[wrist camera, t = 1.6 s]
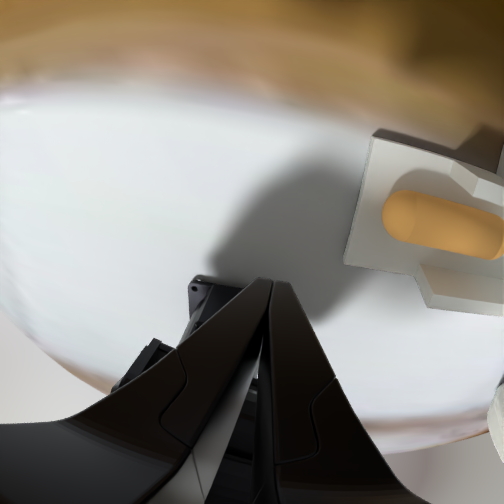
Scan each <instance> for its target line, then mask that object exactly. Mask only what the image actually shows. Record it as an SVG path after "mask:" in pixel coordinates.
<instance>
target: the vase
mask: <svg viewBox="0 0 504 504" xmlns="http://www.w3.org/2000/svg"><path fill="white" fill-rule="evenodd" d="M487 422H488V427H489V431H490V435H491V437H492V440H493V443H494V445H495V447H496V450H497V451H498V454H499V456H500V458H501V460H502V462H503V463H504V383H503V384H501V385H500V386H499V387H498V389H497V391H496V393H495V395H494V398H493V400H492V403H491V405H490V408H489V410H488V413H487Z"/></svg>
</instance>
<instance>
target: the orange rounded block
mask: <svg viewBox="0 0 504 504" xmlns="http://www.w3.org/2000/svg"><path fill="white" fill-rule="evenodd" d="M382 222H383V225H384V227H385V229H386V231H387V232H388V233H389V234H390V235H391V236H392V237H393V238H395V239H396V240H399V241H402V242H407V243H412V244H417V245H422V246H427V247H431V248H436V249H441V250H446V251H450V252H455V253H459V254H464V255H468V256H473V257H477V258H482V259H486V260H494V259H497V258H499V257H501V256H502V255H503V254H504V220H503V219H502V218H501V217H499V216H497V215H495V214H492V213H489V212H486V211H483V210H480V209H476V208H473V207H470V206H466V205H463V204H460V203H456V202H453V201H449V200H445V199H442V198H438V197H434V196H431V195H427V194H423V193H419V192H415V191H411V190H400V191H397V192H395V193H393V194H392V195H391V196H390V197H388V198H387V200H386V201H385V203H384V205H383V209H382Z"/></svg>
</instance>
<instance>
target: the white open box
mask: <svg viewBox="0 0 504 504" xmlns="http://www.w3.org/2000/svg"><path fill="white" fill-rule="evenodd" d="M400 190H411V191H415V192H419V193H423V194H427V195H431V196H434V197H438V198H442V199H445V200H449V201H453V202H456V203H460V204H463V205H466V206H470V207H473V208H476V209H480V210H483V211H486V212H489V213H492V214H495V215H497V216H499V217H501V218H502V219H503V220H504V144H503V148H502V153H501V157H500V161H499V164H498V168H497V172H496V174H494V173H492V172H489V171H487V170H484V169H482V168H479V167H476V166H473V165H471V164H468V163H465V162H462V161H459V160H456V159H453V158H450V157H447V156H444V155H441V154H438V153H434V152H431V151H428V150H424V149H421V148H418V147H414V146H410V145H407V144H403V143H399V142H395V141H391V140H387V139H383V138H379V137H375V136H371V141H370V146H369V151H368V156H367V161H366V166H365V171H364V176H363V180H362V185H361V189H360V193H359V198H358V202H357V206H356V210H355V214H354V218H353V222H352V226H351V230H350V234H349V238H348V242H347V245H346V249H345V253H344V256H343V260H344V264H345V265H351V266H357V267H363V268H369V269H375V270H381V271H386V272H392V273H398V274H404V275H410V276H414V277H415V279H416V282H417V284H418V286H419V289H420V291H421V294H422V296H423V299H424V302H425V304H426V307H427V308H433V309H441V310H449V311H457V312H465V313H473V314H482V315H490V316H499V317H504V254H503V255H502V256H501V257H499V258H497V259H494V260H486V259H482V258H477V257H473V256H468V255H464V254H459V253H455V252H450V251H446V250H441V249H436V248H431V247H427V246H422V245H417V244H412V243H407V242H402V241H399V240H396V239H395V238H393V237H392V236H391V235H390V234H389V233H388V232H387V231H386V229H385V227H384V225H383V222H382V209H383V205H384V203H385V201H386V200H387V198H388V197H390V196H391V195H392V194H393V193H395V192H397V191H400Z"/></svg>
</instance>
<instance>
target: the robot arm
mask: <svg viewBox="0 0 504 504" xmlns="http://www.w3.org/2000/svg"><path fill="white" fill-rule="evenodd" d="M272 285H273V286H272ZM193 286H195V287H197V288H194V287H193ZM188 297H189V315H190V321H189V323H188V325H187V327H186V330H185V332H184V334H183V336H182V338H181V340H180V342H179V345H178V346H177V347H176V349H175V348H173V347H171V346H168V345H166V344H163V343H162V341H160V340H158V339H155V338H153V340H152V341H151V342H150V344H149V345H148V346H147V345H146V346H145V348H144V349H143V350H142V351H141V353H140V355H139V356H138V357H137V359H136V360H135V361H134V363H133V364H132V366H131V367H130V368H129V370H128V371H127V373H126V374H125V375H124V376H123V377H122V378H121V379H120V380H119V381H118V382H117V383H116V384H115V385H114V386H113V388H112V390H111V394H109V395H108V396H106V397H105V398H103V399H101V400H100V401H98V402H96V403H95V404H93V405H91V406H90V407H88V408H86V409H85V410H83V411H81V412H79V413H77V414H75V415H73V416H71V417H68V418H65V419H62V420H57V421H51V422H38V423H17V424H0V504H431V503H429V502H427V501H425V500H423V499H422V498H420V497H418V496H416V495H415V494H414V493H412V492H411V491H410V490H409V489H407V488H406V487H405V486H404V485H403V484H402V483H401V482H400V480H399V479H398V478H397V477H396V476H395V474H394V473H393V471H392V470H391V468H390V467H389V465H388V464H387V462H386V461H385V459H384V458H383V456H382V455H381V453H380V451H379V450H378V448H377V447H376V445H375V444H374V442H373V441H372V439H371V438H370V436H369V435H368V433H367V432H366V430H365V428H364V427H363V425H362V424H361V422H360V420H359V419H358V417H357V415H356V414H355V412H354V411H353V409H352V407H351V405H350V403H349V401H348V399H347V397H346V395H345V394H344V392H343V390H342V387H341V385H340V383H339V381H338V379H337V378H335V377H336V375H335V373H334V371H333V369H332V367H331V365H330V363H329V361H328V359H327V357H326V355H325V353H324V351H323V349H322V346H321V344H320V342H319V340H318V338H317V336H316V334H315V332H314V330H313V328H312V326H311V324H310V322H309V320H308V318H307V316H306V314H305V312H304V310H303V308H302V306H301V304H300V302H299V300H298V298H297V296H296V294H295V292H294V290H293V288H292V286H291V284H290V283H289V282H284V281H278V280H275V281H274V282H273V281H272V280H271V279H266V278H260V277H258V278H256V279H255V280H254V281H252V282H251V283H250V284H249V285H248V286H247V287H245V288H244V289H240V288H235V287H229V286H224V285H219V284H213V283H208V282H203V281H198V280H193V281H191V282H190V284H189V286H188ZM257 374H258V379H257Z"/></svg>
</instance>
